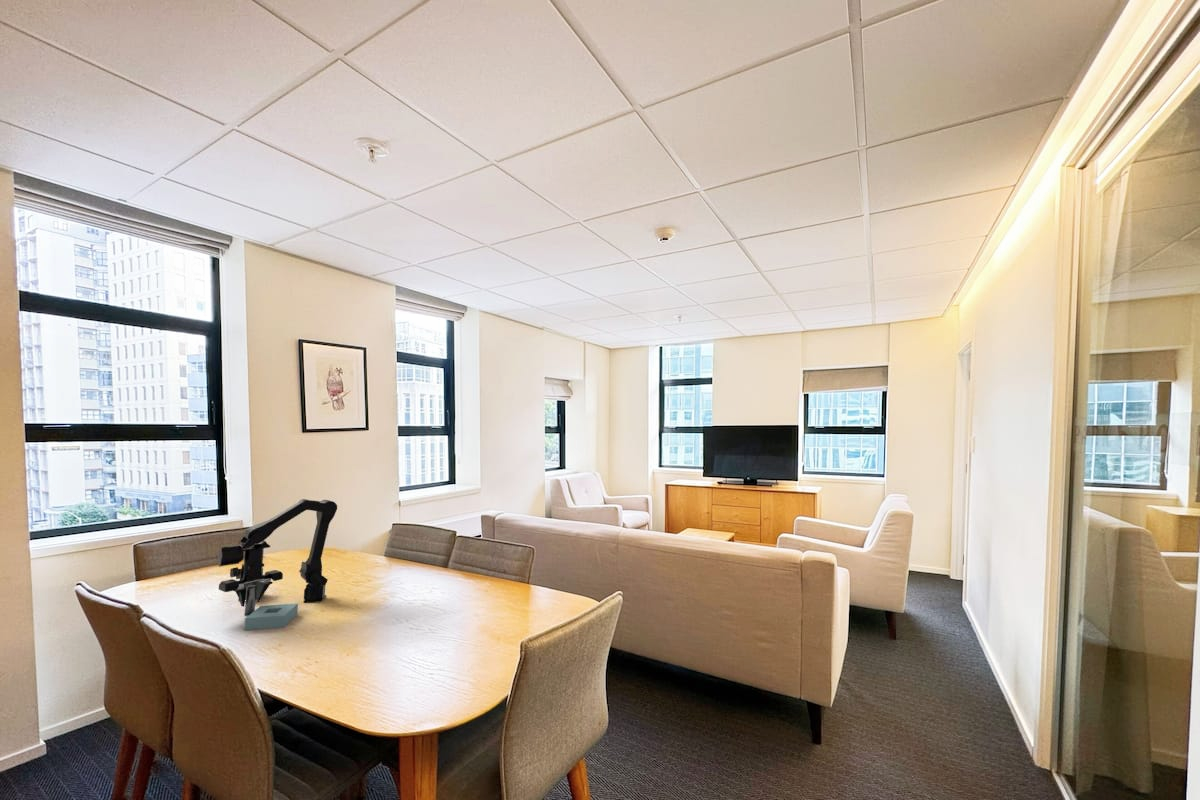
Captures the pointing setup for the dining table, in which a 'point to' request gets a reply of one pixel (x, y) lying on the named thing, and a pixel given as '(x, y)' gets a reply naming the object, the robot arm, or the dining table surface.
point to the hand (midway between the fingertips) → (250, 604)
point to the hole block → (271, 616)
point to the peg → (250, 599)
